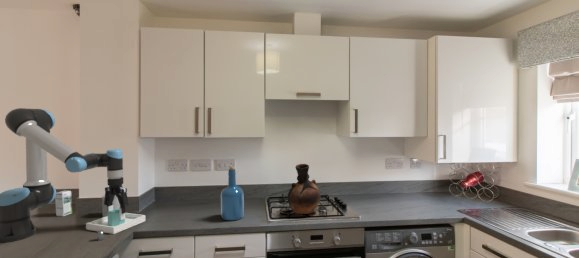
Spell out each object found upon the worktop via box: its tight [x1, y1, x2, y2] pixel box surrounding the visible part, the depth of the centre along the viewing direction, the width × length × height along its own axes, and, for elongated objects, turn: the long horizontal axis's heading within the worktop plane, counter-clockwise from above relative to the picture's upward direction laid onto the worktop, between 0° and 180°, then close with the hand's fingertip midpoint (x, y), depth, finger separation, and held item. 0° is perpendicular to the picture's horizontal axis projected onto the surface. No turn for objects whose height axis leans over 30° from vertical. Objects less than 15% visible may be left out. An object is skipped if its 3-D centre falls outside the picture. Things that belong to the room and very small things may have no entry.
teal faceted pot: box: [107, 209, 125, 226], centre depth 159 cm, size 8×8×7 cm
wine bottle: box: [220, 166, 245, 221], centre depth 169 cm, size 14×13×30 cm
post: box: [96, 230, 104, 241], centre depth 140 cm, size 2×2×4 cm
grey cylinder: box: [101, 194, 120, 218], centre depth 177 cm, size 10×10×12 cm
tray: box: [85, 212, 146, 235], centre depth 159 cm, size 20×20×3 cm
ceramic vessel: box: [286, 163, 322, 215], centre depth 175 cm, size 21×18×30 cm
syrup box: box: [54, 190, 73, 217], centre depth 178 cm, size 6×6×14 cm
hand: (116, 218), depth 159 cm, fingers closed on teal faceted pot, 8 cm apart
